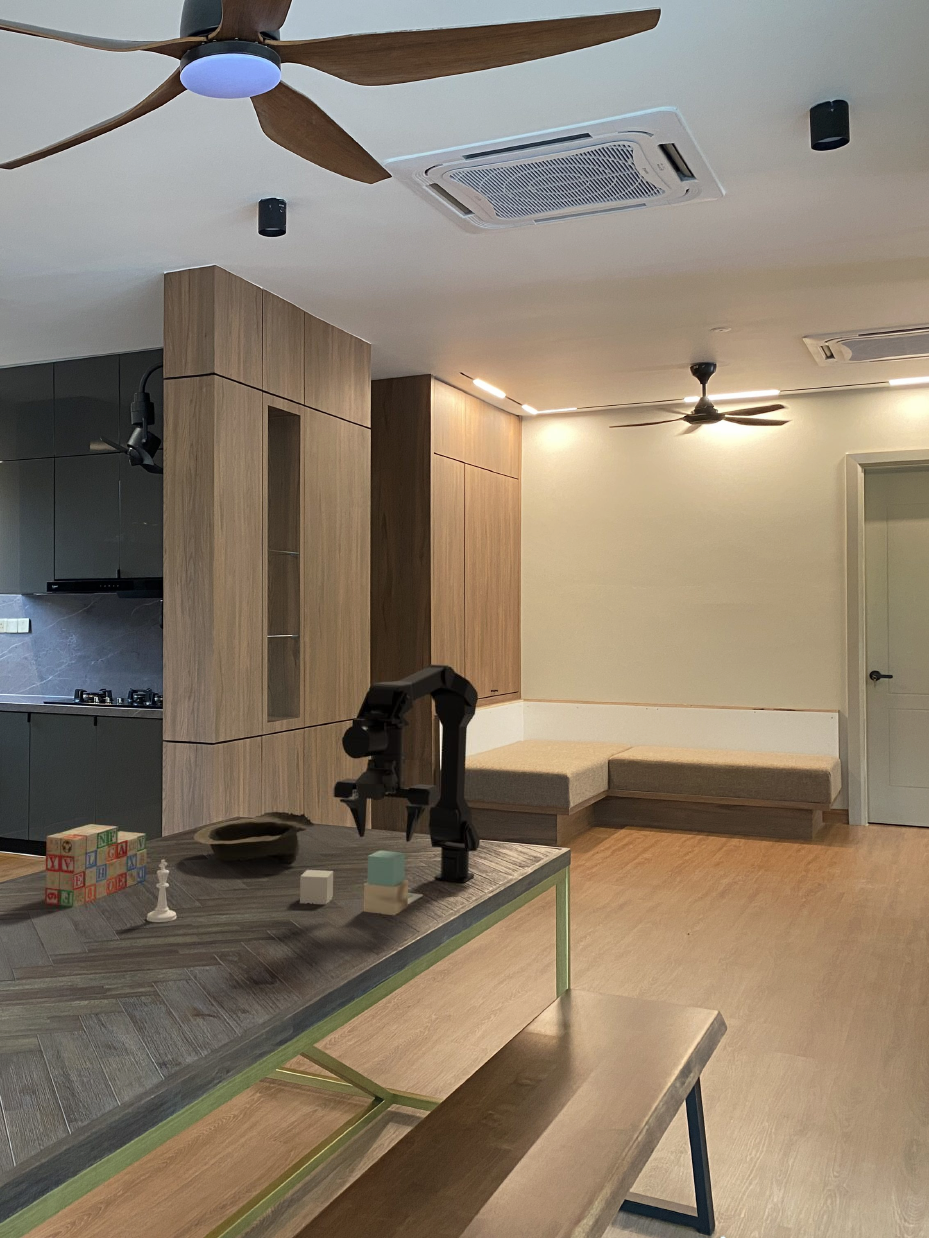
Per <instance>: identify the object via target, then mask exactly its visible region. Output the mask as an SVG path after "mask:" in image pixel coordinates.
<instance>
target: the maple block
mask: <svg viewBox="0 0 929 1238" xmlns="http://www.w3.org/2000/svg"><path fill="white" fill-rule="evenodd" d="M363 884H364V886H363V912H366V913H374V914H380V913H381V915H389V916H396V915H398V914H399V913H401V912H403V911H404V910H405V909H407V908H408V905H409V904H408V893H409V879H404V881H403V882H401V883H399V884H397V885H395V886H394V887H389V886H381V885H373V884H367V882H365V883H363Z"/></svg>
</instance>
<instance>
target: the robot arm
mask: <svg viewBox="0 0 929 1238" xmlns="http://www.w3.org/2000/svg"><path fill="white" fill-rule="evenodd" d="M427 695H428V696H429V697H430V698H431V700H432V701H433V702H434V712H435V715H436V716H437V719H438V720H439V722H440V724H441V728H442V729H441V731H442V732H441V733H442V734H441V757H440V758H441V759H440V780H439V781H440V785H439V788H440V789H439V788H438V787H437V785H435V784H421V783H418V784H416V785H415V784H414V785H413V786H410V787H405V783H406V782H405V781H406V780H405V779H403V765H404V764H406V757H404V756H403V755H404V728H407V727H409V726H410V723H409V721H408V720H407V719H406V718H405V717H404V716H405V715H406V714H408V713H409V712H410V711H412V709H413V708H414V703H415V701H418V700H419V699H421V698H423V697H425V696H427ZM478 700H479V694H478V690H477V689H476V688H475V687H474V685H473V684H472V683H471V682H470V680H468V679H467V678H465V677H464V676H462V675H461V674H459V673H457V672H456V671H455V670H454V669H453V667H452V666H450V665H448V664H430V665H426V666H425V668H423V669H421V670H419V671H417V672H414V673H413V674H410V675H408V676H406V677H404V678H401V679H400V680H397V681H381V682H375V683H372V684H371V685H370V686H369V688H368V690H367V693H366V695H365V696H364V699H363V700H362V701H363V702H362V703H361V706H360V708H359V710H358V713H357V715H356V718H353V719H352V725H351V726H350V727H348V728H347V729H346V730H345V732H344V733H343V737H341V738H342V739H341V744H342V749H343V751H344V753H345V754H346V755H347V756H348V757H349V758H351V759H356V760H357V759H362V758H367V757H370V758H369V759H367V768H366V770H365V771H364V772H362V773H361V774H360V776H359V777H358V778H344V779H342V780H338V781H336V783H335V784H334V786H333V798H339V802H340V803H343V804H344V805H345V806H346V807H348V808H349V810H350V813H351V814H352V817H353V820H354V821H353V822H354V824H355V826H356V829H357V834H358V835H359V836H358V837H359V838H364V837H365V832H366V824H367V823H366V822H367V806H368V805H367V804H368V803H367V802H368V800H369V799H370V800H373V801H381V800H383V799H384V798H385V797H386V798H387V797H388V798H396V799H397V798H399V799H406V800H407V802H409V804H407V805H405V809H406V812H407V818H406V829H405V842H406V843H409V842H411V840H412V838H413V836H414V833H415V831H416V828H417V826H418V824H419V822H420V819H421V817H422V815H423V814H424V812H425V810H426V808H428V807H430V809H429V813H428V814H429V822H428V831H429V832H428V833H429V837H430V841H431V842H430V843H431V847H432V848H439V849H440V873H438V874H436V875H435V876H433V877H434V880H437V881H438V880H439V881H445V882H446V881H449V882H455V883H456V882H457V883H465V882H467V881H469V880H470V879H471V878H473V877H474V876H475V873H472V872H469V871H470V866H469V865H470V852H476V851H477V850H478V849H479V847H480V841H481V836H480V835H479V833H478V832H477V830H476V828H475V826H474V824H473V817H472V815H473V814H472V810H471V809H470V807H469V805H468V803H467V801H466V799H465V789H466V788H465V785H466V783H465V782H466V781H465V780H466V760H467V759H466V755H467V732H468V731H467V730H468V729H467V728H468V725H469V724H470V722H471V721H472V720H473V718H474V716H475V715H476V709H477V703H478ZM434 803H435V805H434V806H433V804H434Z"/></svg>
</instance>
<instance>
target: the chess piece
mask: <svg viewBox="0 0 929 1238" xmlns="http://www.w3.org/2000/svg"><path fill="white" fill-rule="evenodd" d="M160 861H161V863H159V864H158V867H159V868H160V870H159V869H158V870H157V871H156V875H157V878H158V882H159V883H157V884H156V885H155V887H156V888H158V889H159V892H158V899H157V905H156V907H155V908H154V910H152V911H151V912H149V913H148V914H147V916H146V921H149V922H152V923H168V922H173V921H175V920H176V919H177V913H176V912H175V910H172V909H170V908H169V907H168V904H167V894H166V893H167V892H166V888H168V887H170V885H169V883H167V880H168V876H169V874H170V870H168V869H166V866H168V862H166V859H161V860H160Z"/></svg>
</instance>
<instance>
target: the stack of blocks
mask: <svg viewBox="0 0 929 1238" xmlns="http://www.w3.org/2000/svg"><path fill="white" fill-rule="evenodd" d="M118 830H119V826H114V825H103V824H102V825H101V824H95V823H93V824H91V823H90V824H86V825H82V826H79V827H76V828H75V827H74V828H71V829H69V830H66V831H62V832H58V833H54V834H52V835H51V834H50V835H47V836H46V853H45V892H44V904H46V905H54V906H62V907H69V908H75V907H77V906H81V905H83V904H86V903H88V902H89V903H90V902H92V901H94V900H97V899H100V898H103V897H106V896H107V895H110V894H112V893H115V892H118V891H120V890H123V889H126V888H128V887H131V886H134V885H136V884H140V883H142V882H146V880H147V878H146V877H147V833H141V832H130V831H121V830H120V831H118Z"/></svg>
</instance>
